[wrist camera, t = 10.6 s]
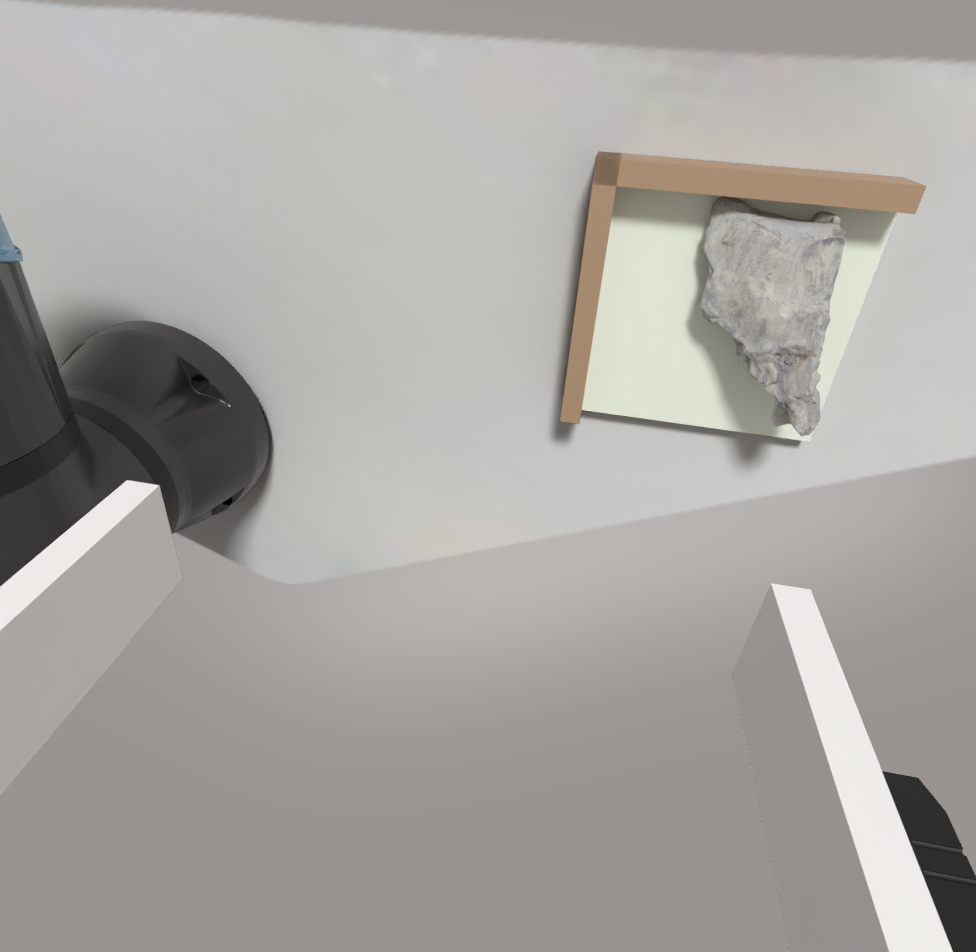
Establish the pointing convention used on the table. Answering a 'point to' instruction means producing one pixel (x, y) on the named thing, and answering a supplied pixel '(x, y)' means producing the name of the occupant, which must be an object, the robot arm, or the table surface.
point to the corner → (702, 285)
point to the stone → (774, 298)
